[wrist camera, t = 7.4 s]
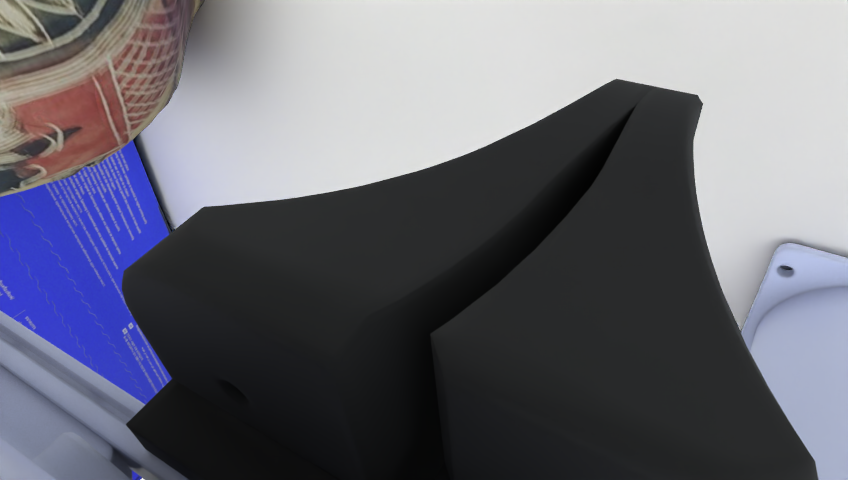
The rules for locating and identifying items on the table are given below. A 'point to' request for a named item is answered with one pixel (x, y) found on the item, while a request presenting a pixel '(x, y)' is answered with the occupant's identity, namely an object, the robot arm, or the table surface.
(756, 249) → the table surface
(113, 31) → the ceramic jug
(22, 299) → the blue cardboard box
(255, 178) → the table surface
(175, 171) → the table surface
